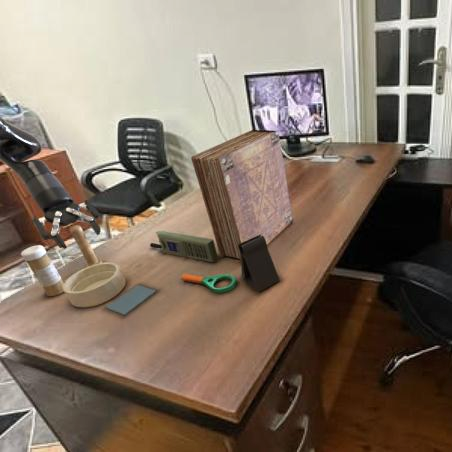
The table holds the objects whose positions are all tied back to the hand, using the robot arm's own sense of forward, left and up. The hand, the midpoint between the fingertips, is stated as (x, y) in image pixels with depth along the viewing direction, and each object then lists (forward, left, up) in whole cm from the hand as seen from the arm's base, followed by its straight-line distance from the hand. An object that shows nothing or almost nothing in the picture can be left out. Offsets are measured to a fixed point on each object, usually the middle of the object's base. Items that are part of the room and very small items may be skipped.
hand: (82, 240), depth 97 cm
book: (+29, -37, -10) cm, 48 cm away
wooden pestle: (0, +1, -10) cm, 10 cm away
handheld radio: (+14, -20, -10) cm, 26 cm away
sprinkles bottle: (-11, +1, -10) cm, 15 cm away
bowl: (-7, -12, -10) cm, 17 cm away
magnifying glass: (+6, -38, -10) cm, 40 cm away
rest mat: (-6, -23, -10) cm, 26 cm away
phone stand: (+12, -50, -10) cm, 52 cm away
